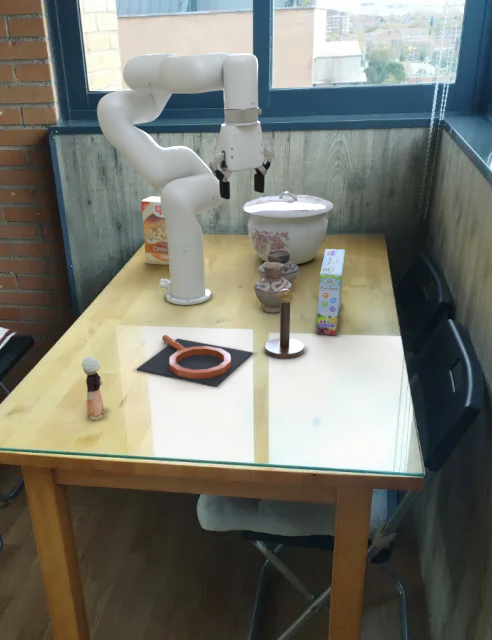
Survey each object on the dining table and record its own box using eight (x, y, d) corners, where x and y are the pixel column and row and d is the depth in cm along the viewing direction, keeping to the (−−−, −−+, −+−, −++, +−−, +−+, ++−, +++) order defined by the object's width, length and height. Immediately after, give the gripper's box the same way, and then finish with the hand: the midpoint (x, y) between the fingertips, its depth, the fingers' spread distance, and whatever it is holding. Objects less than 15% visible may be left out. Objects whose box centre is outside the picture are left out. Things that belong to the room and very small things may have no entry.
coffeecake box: (145, 263, 220) (139, 200, 210) (155, 256, 226) (150, 195, 216) (188, 267, 215) (184, 203, 205) (197, 260, 221) (194, 197, 211)
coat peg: (258, 355, 158) (258, 293, 151) (274, 340, 165) (274, 280, 157) (295, 361, 154) (297, 298, 147) (309, 346, 161) (312, 285, 153)
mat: (136, 370, 154) (136, 368, 154) (177, 340, 167) (177, 338, 167) (216, 387, 145) (216, 385, 145) (252, 353, 159) (252, 352, 159)
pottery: (249, 315, 179) (249, 270, 173) (260, 283, 200) (260, 242, 194) (293, 316, 177) (294, 271, 171) (299, 284, 198) (301, 242, 192)
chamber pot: (330, 273, 204) (334, 202, 194) (238, 272, 209) (236, 202, 198) (331, 246, 228) (334, 181, 217) (248, 245, 232) (248, 181, 222)
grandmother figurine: (88, 407, 140) (80, 350, 133) (107, 405, 140) (100, 348, 134) (85, 426, 133) (76, 367, 127) (105, 425, 134) (97, 365, 127)
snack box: (338, 336, 165) (342, 275, 158) (315, 335, 166) (317, 274, 159) (342, 304, 183) (345, 247, 175) (320, 303, 184) (323, 247, 176)
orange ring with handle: (242, 367, 152) (242, 361, 151) (189, 384, 146) (189, 377, 145) (188, 333, 169) (188, 327, 168) (138, 347, 163) (138, 341, 163)
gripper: (262, 111, 161) (262, 187, 170) (199, 119, 154) (203, 198, 163) (282, 114, 156) (281, 192, 165) (217, 122, 148) (220, 203, 157)
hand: (242, 195), depth 164 cm, fingers open, 9 cm apart
